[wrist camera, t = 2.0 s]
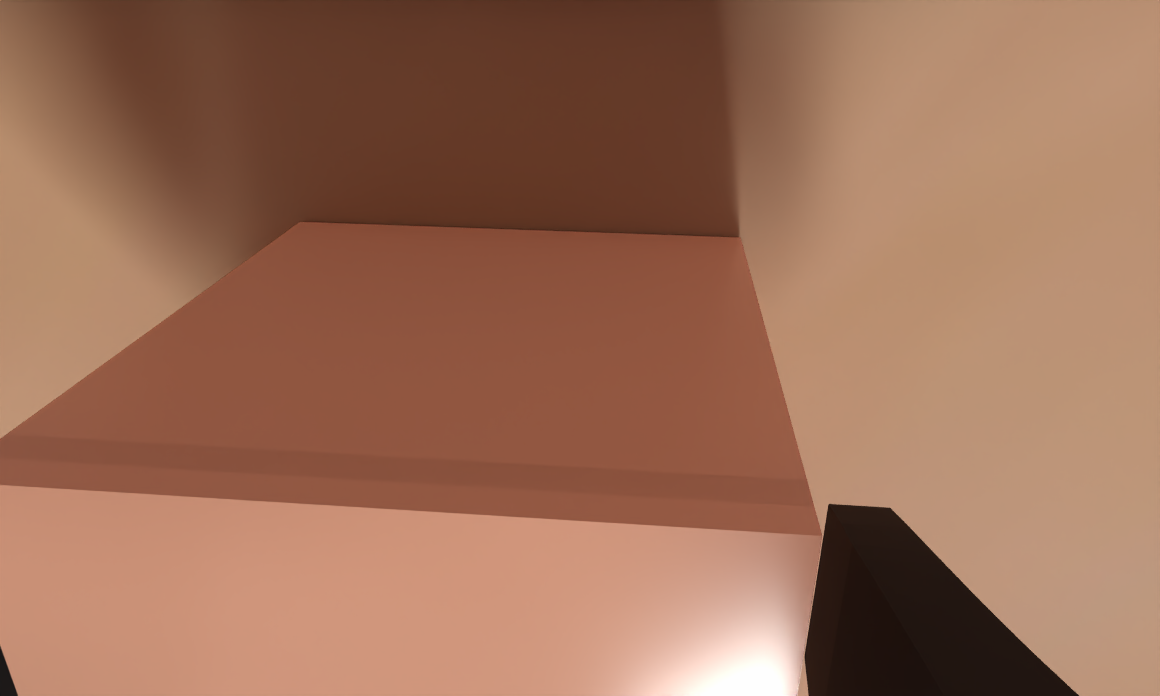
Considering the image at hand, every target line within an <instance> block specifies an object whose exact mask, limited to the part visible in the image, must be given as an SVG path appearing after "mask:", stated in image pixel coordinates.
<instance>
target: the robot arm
mask: <svg viewBox="0 0 1160 696" xmlns="http://www.w3.org/2000/svg"><path fill="white" fill-rule="evenodd" d="M805 665H806V674H807V684H808V693H809V696H1079V695H1078V694H1077V693H1076V692H1074V691H1073V690H1072V689H1071V688H1070V687H1069V686H1068V685H1067V684H1066V683H1065V682H1064V681H1063V680H1062V679H1060V678H1059V677H1058V676H1057V675H1056V674H1055V673H1054V672H1053V671H1052V670H1051V669H1050V668H1049V667H1048V666H1047V665H1045V664H1044V663H1043V662H1042V661H1041V660H1040V659H1039V658H1038V657H1037V656H1036V655H1035V654H1034V653H1033V652H1032V651H1031V650H1030V649H1029V648H1028V647H1027V646H1026V645H1024V644H1023V643H1022V642H1021V641H1020V640H1019V639H1018V638H1017V637H1016V636H1015V635H1014V634H1013V633H1012V632H1011V631H1010V630H1009V629H1008V628H1007V627H1006V626H1005V625H1004V624H1003V623H1002V622H1001V621H1000V620H999V619H998V618H997V617H996V616H995V615H994V614H993V613H992V612H991V611H990V610H989V609H988V608H987V607H986V606H985V605H984V604H983V603H982V602H981V601H980V600H979V599H978V598H977V597H976V596H975V595H974V594H973V593H972V592H971V591H970V590H969V589H968V588H967V587H966V586H965V585H964V584H963V583H962V582H961V580H960V579H959V578H958V577H957V576H956V575H955V574H954V573H953V572H952V571H951V570H950V569H949V568H948V567H947V566H946V565H945V564H944V563H943V562H942V561H941V560H940V559H939V558H938V557H937V556H936V555H935V554H934V552H933V551H932V550H931V549H930V548H929V547H928V546H927V545H926V544H925V543H924V542H923V541H922V540H921V539H920V538H919V537H918V536H917V535H916V534H915V533H914V532H913V531H912V529H911V528H910V527H909V526H908V525H907V524H906V523H905V522H904V521H903V520H902V519H901V518H900V517H899V516H898V515H897V514H896V513H895V512H894V511H893V510H892V509H891V508H884V507H868V506H852V505H836V504H829V505H828V511H827V518H826V524H825V530H824V537H823V543H822V549H821V556H820V562H819V568H818V575H817V581H816V587H815V594H814V600H813V606H812V613H811V619H810V625H809V632H808V638H807V644H806V651H805ZM0 696H18V694H17V691H16V688H15V685H14V682H13V680H12V677H11V674H10V671H9V668H8V666H7V663H6V660H5V657H4V655H3V652H2V649H1V646H0Z"/></svg>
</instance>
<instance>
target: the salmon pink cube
mask: <svg viewBox="0 0 1160 696" xmlns="http://www.w3.org/2000/svg"><path fill="white" fill-rule="evenodd" d="M821 541H822V533H821V530H820V526H819V522H818V519H817V515H816V511H815V508H814V504H813V501H812V497H811V493H810V490H809V486H808V482H807V479H806V475H805V471H804V468H803V464H802V460H801V457H800V453H799V449H798V446H797V442H796V438H795V435H794V431H793V427H792V424H791V420H790V416H789V413H788V409H787V405H786V402H785V398H784V395H783V391H782V387H781V384H780V380H779V376H778V373H777V369H776V365H775V362H774V358H773V354H772V351H771V347H770V343H769V340H768V336H767V332H766V329H765V325H764V321H763V318H762V314H761V310H760V307H759V303H758V299H757V296H756V292H755V289H754V285H753V281H752V278H751V274H750V270H749V267H748V263H747V259H746V256H745V252H744V248H743V245H742V241H741V238H739V237H712V236H684V235H656V234H628V233H600V232H572V231H544V230H516V229H488V228H460V227H432V226H404V225H376V224H348V223H320V222H299V223H298V224H296V225H295V226H293V227H292V228H291V229H289V230H288V231H287V232H285V233H284V234H282V235H281V236H280V237H278V238H277V239H275V240H274V241H273V242H271V243H270V244H269V245H267V246H266V247H264V248H263V249H262V250H260V251H259V252H258V253H256V254H255V255H253V256H252V257H251V258H249V259H248V260H246V261H245V262H244V263H242V264H241V265H240V266H238V267H237V268H235V269H234V270H233V271H231V272H230V273H229V274H227V275H226V276H224V277H223V278H222V279H220V280H219V281H218V282H216V283H215V284H213V285H212V286H211V287H209V288H208V289H206V290H205V291H204V292H202V293H201V294H200V295H198V296H197V297H195V298H194V299H193V300H191V301H190V302H189V303H187V304H186V305H184V306H183V307H182V308H180V309H179V310H177V311H176V312H175V313H173V314H172V315H171V316H169V317H168V318H166V319H165V320H164V321H162V322H161V323H160V324H158V325H157V326H155V327H154V328H153V329H151V330H150V331H149V332H147V333H146V334H144V335H143V336H142V337H140V338H139V339H137V340H136V341H135V342H133V343H132V344H131V345H129V346H128V347H126V348H125V349H124V350H122V351H121V352H120V353H118V354H117V355H115V356H114V357H113V358H111V359H110V360H108V361H107V362H106V363H104V364H103V365H102V366H100V367H99V368H97V369H96V370H95V371H93V372H92V373H91V374H89V375H88V376H86V377H85V378H84V379H82V380H81V381H80V382H78V383H77V384H75V385H74V386H73V387H71V388H70V389H68V390H67V391H66V392H64V393H63V394H62V395H60V396H59V397H57V398H56V399H55V400H53V401H52V402H51V403H49V404H48V405H46V406H45V407H44V408H42V409H41V410H39V411H38V412H37V413H35V414H34V415H33V416H31V417H30V418H28V419H27V420H26V421H24V422H23V423H22V424H20V425H19V426H17V427H16V428H15V429H13V430H12V431H10V432H9V433H8V434H6V435H5V436H4V437H2V438H1V439H0V646H1V649H2V652H3V655H4V657H5V660H6V663H7V666H8V668H9V671H10V674H11V677H12V680H13V682H14V685H15V688H16V691H17V694H18V696H797V694H798V687H799V681H800V674H801V668H802V662H803V655H804V649H805V643H806V636H807V630H808V623H809V617H810V611H811V604H812V598H813V592H814V585H815V579H816V572H817V566H818V560H819V553H820V547H821Z"/></svg>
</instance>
